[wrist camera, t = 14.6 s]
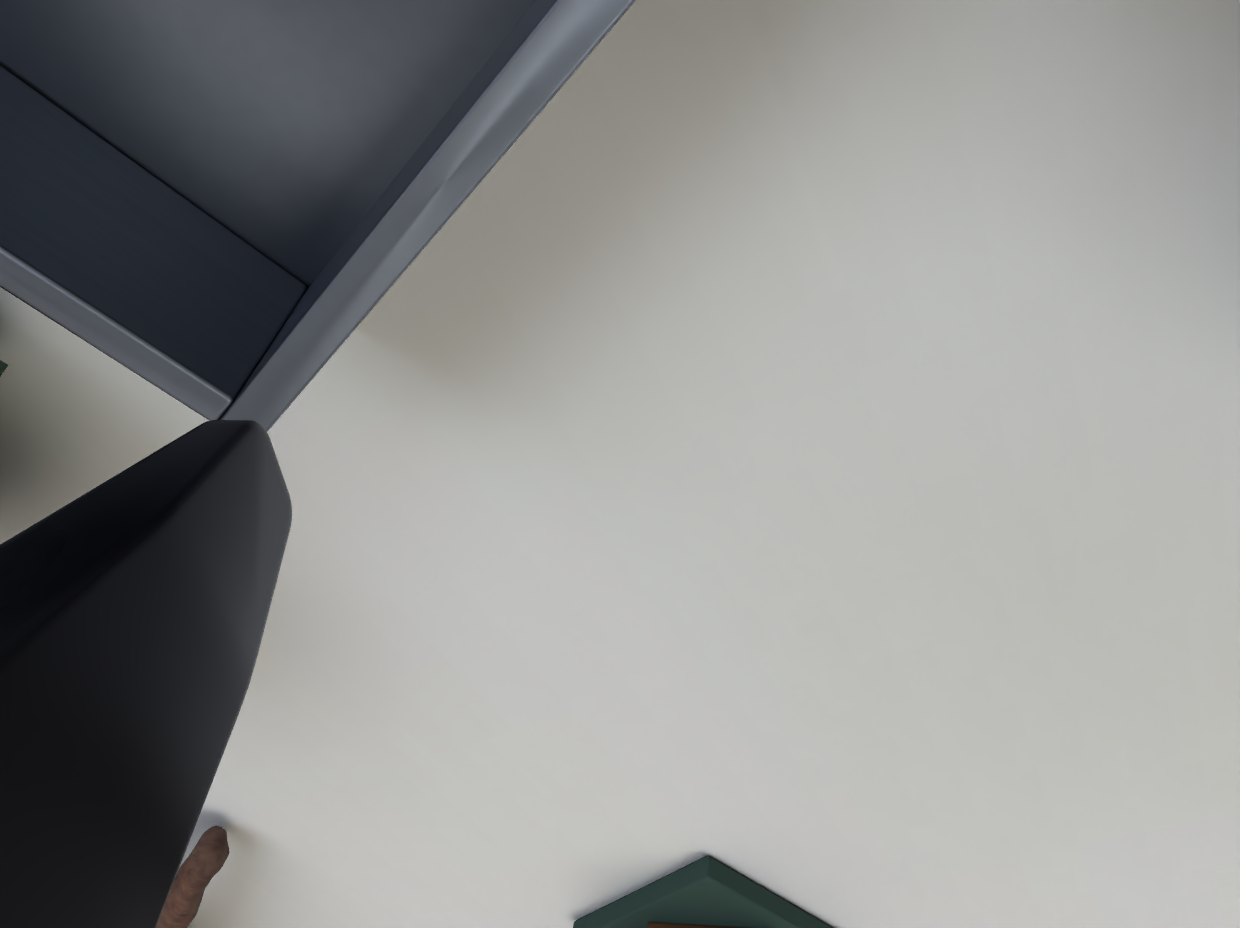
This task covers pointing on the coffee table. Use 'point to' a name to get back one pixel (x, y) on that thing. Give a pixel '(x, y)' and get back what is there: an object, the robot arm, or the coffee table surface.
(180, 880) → the figurine
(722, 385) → the coffee table surface
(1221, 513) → the coffee table surface
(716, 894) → the mat
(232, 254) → the open box
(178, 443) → the robot arm
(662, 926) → the cube
